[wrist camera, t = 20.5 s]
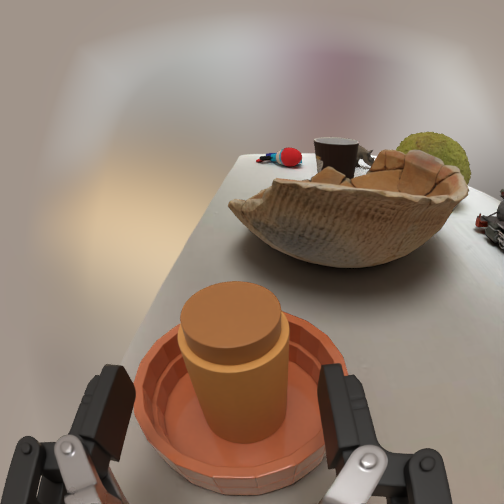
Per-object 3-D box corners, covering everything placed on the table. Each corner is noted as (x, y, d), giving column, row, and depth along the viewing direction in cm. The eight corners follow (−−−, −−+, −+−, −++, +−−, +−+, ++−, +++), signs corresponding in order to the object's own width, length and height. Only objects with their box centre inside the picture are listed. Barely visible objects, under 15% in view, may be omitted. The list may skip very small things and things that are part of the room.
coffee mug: (358, 198, 53) (360, 145, 48) (312, 195, 55) (312, 143, 50) (354, 181, 63) (356, 136, 58) (315, 178, 65) (315, 134, 60)
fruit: (406, 215, 46) (383, 130, 45) (399, 214, 59) (381, 147, 58) (487, 198, 39) (463, 114, 38) (465, 200, 52) (447, 133, 52)
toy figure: (254, 167, 82) (289, 168, 70) (252, 150, 80) (288, 147, 68) (275, 165, 85) (312, 165, 73) (274, 148, 84) (310, 146, 72)
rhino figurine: (375, 173, 68) (377, 149, 65) (327, 164, 76) (327, 142, 73) (380, 169, 71) (381, 147, 68) (333, 161, 79) (334, 140, 76)
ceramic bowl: (276, 186, 55) (287, 107, 46) (418, 228, 48) (444, 150, 39) (187, 282, 32) (184, 141, 23) (433, 363, 25) (513, 237, 16)
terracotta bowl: (140, 486, 14) (109, 463, 11) (171, 347, 25) (158, 308, 23) (350, 487, 13) (369, 465, 11) (322, 342, 24) (327, 302, 22)
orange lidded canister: (200, 442, 16) (159, 353, 12) (209, 377, 21) (184, 278, 17) (288, 442, 16) (295, 352, 12) (284, 376, 21) (285, 274, 16)
